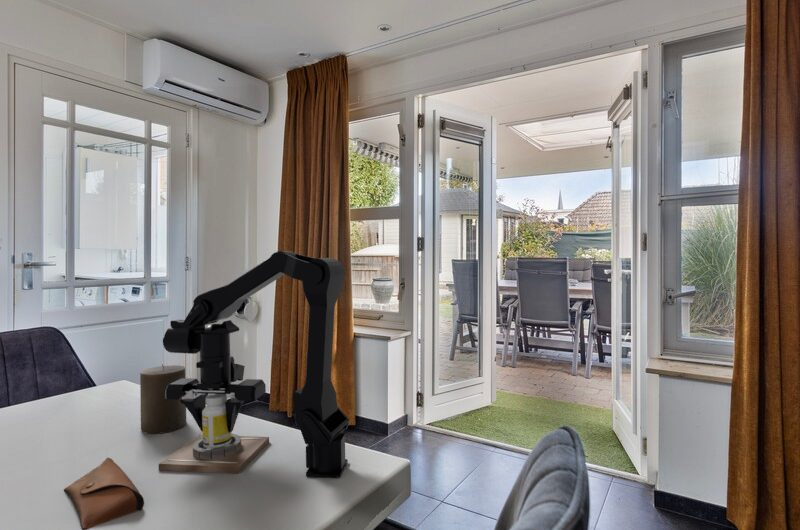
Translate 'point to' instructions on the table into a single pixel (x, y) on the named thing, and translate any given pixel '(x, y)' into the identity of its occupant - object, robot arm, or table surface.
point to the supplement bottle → (215, 422)
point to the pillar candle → (160, 400)
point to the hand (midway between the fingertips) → (217, 431)
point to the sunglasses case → (104, 495)
